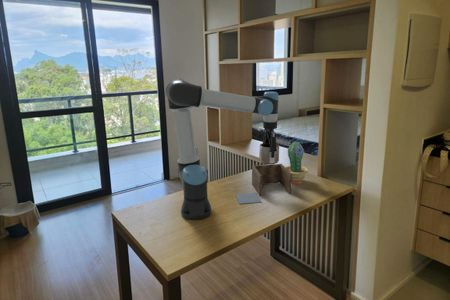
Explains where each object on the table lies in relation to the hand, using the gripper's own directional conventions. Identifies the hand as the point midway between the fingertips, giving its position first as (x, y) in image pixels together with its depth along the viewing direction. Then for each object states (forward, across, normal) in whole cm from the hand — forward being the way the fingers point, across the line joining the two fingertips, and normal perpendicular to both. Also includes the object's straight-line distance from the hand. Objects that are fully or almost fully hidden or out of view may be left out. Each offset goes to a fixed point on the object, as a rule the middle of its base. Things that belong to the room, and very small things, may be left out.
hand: (268, 159), depth 175 cm
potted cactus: (+19, +13, -21) cm, 31 cm away
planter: (+1, 0, 0) cm, 1 cm away
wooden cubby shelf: (+19, +5, -3) cm, 20 cm away
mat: (+20, -7, +13) cm, 24 cm away
